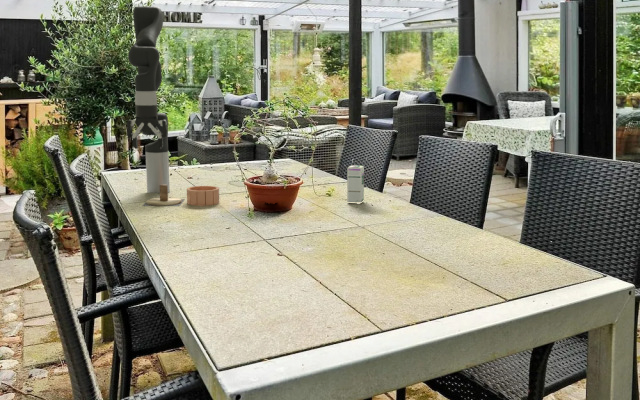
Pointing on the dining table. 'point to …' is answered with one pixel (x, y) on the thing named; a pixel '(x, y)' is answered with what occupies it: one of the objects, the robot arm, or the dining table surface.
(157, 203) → the lid
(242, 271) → the dining table surface
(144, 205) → the mat
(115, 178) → the dining table surface
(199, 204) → the bowl
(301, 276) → the dining table surface
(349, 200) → the syrup box
